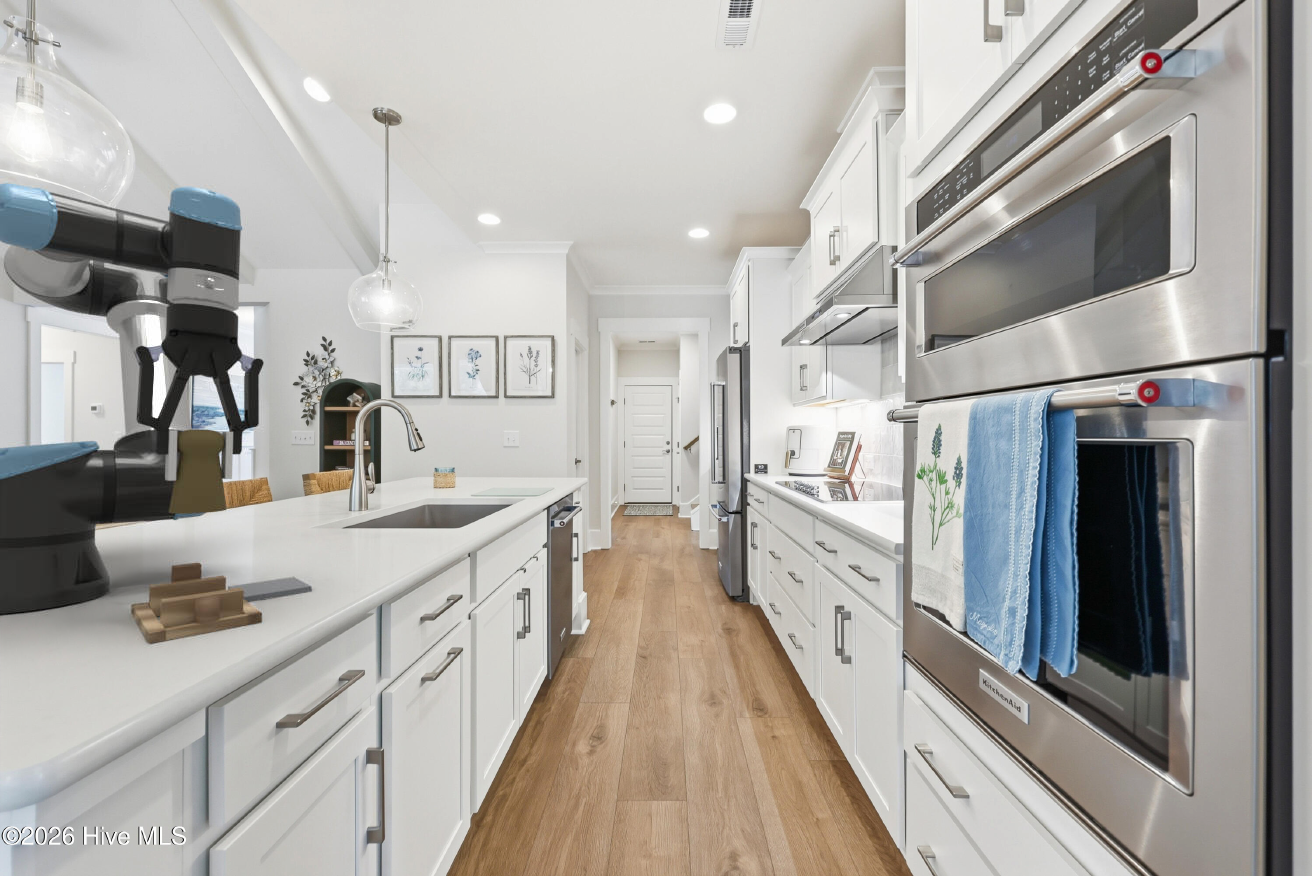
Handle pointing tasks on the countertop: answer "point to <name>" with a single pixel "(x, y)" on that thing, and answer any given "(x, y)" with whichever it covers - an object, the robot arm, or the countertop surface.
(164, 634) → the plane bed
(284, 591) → the slate coaster
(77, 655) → the countertop surface
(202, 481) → the cork
